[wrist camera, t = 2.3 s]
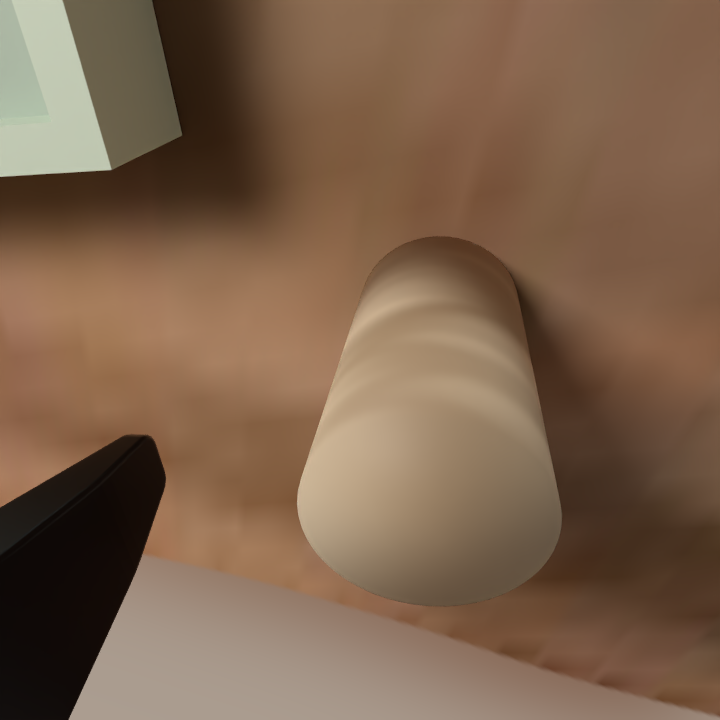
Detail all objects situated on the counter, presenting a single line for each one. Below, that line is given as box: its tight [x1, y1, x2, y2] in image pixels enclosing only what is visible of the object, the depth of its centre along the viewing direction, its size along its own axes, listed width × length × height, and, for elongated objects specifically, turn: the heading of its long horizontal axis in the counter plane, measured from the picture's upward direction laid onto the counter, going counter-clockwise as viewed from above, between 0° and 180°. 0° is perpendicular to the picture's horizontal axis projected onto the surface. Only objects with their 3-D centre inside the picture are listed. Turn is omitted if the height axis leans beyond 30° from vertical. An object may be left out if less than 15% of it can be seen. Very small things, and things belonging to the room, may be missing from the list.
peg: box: [297, 236, 562, 606], centre depth 11 cm, size 4×4×6 cm
